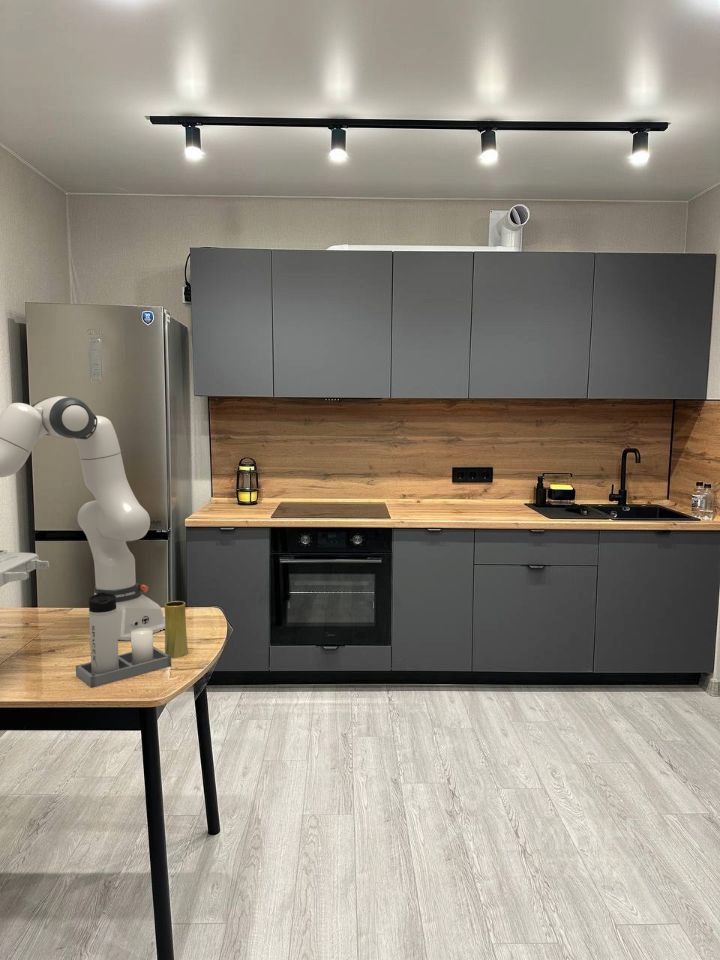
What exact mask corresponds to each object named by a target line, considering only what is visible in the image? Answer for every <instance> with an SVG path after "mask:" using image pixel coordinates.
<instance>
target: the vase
mask: <svg viewBox="0 0 720 960" xmlns="http://www.w3.org/2000/svg"><path fill="white" fill-rule="evenodd" d="M186 616H187V615H186V602H185V601H181V600H173V601H171V600H170V601H168V602H166V603H165V604H164V617H165V630H164V653H166V654H167V655H169V656H171V659H178V658H183V657H186V656H187V655H189V650H188V633H187V623H186V622H187V620H186V619H187V618H186Z"/></svg>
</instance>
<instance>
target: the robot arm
mask: <svg viewBox="0 0 720 960" xmlns="http://www.w3.org/2000/svg"><path fill="white" fill-rule="evenodd" d="M45 435H47V436H51V437H55V438H60V439H63V438H66V439H67V438H68V439H72V440H73V441H74V443H75V444H76V447H77V451H78V456H79V461H80V465H81V466H80V467H81V471H82V476H83V480H84V484H85V487H86V488H87V489H88V490H89V491H90V493H92V495H93V496H94V498H95V500H89V501H88V502H86V503H84V504H83V505H82V506H80V508H79V510H78V513H77V523H78V524H77V525H78V526H79V527H80V529H81V530H82V531H83V533H84V534H85V536H86V539H87V542H88V545H89V548H90V551H91V554H92V558H93V564H94V578H95V579H94V580H95V583H94V584H95V586H94V588H93V590H94V591H93V595H96V594H98V593H100V592H105V593H109V594H113V595H115V596H116V607H117V631H118V641H131V631H132V630H135V629H138V628H151V629H152V630H153V634H154V633H158V632H161V631H160V630H162V631H164V630H163V629H165V616H164V613H163V610H162V606H160V604H158V603H157V602H155V601H154V600H152V599H151V598H149V597H148V596H146V595H144V594H143V593H147V592H148V591H149V586H147V585H146V584H141V583H138V582H137V580H136V559H135V555H134V554H133V553H132V552H131V551H130V549H129V547H128V545H127V542H133V541H137V540H140V539H142V538H144V537H146V535H147V533H148V531H149V530H150V525H151V518H150V514H149V512H147V510H146V509H145V508H144V507H143V506H142V505H141V504H140V502H139V501H138V499H137V498H136V496H135V494H134V491H133V490H132V488H131V486H130V484H129V481H128V479H127V474H126V471H125V466H124V462H123V457H122V453H121V452H122V450H121V446H120V443H119V439H118V435H117V433H116V430H115V428H114V425H113V423H112V421H111V420H110V419H108V418H107V417H105V416H103V415H102V416H101V415H95V413H94V412H92V410H91V408H90V407H89V406H88V405H87V404H86V403H85V402H84V401H83V400H80V399H78V398H76V397H71V396H69V397H68V396H63V395H57V396H51V397H45V398H43V399H41V400H39V401H37V402H36V403H34V404H32V405H30V404H28V403H23V402H14V403H13V402H12V403H11V404H9V405H7V406H6V408H4V410H3V411H1V413H0V478H5V477H9V476H12V475H15V474H16V473H18V472H19V470H21V469H22V467H23V466H24V465H25V463H26V462H27V460H28V458H29V457H30V455H31V453H32V451H33V449H34V447H35V445H36V443H38V441H39V440H40V439H41V438H42V437H44V436H45ZM48 568H50V561H48V560H40V559H39V554H37V553H34V552H22V551H21V552H18V551H12V552H8V550H5V549H4V550H3V549H2V550H1V549H0V588H1V587H2V586H4V585H6V584H8V583H12V582H16V581H17V582H18V581H26V580H28V579H29V578H30V572H32V571H34V570H36V569H38V570H42V571H43V570H47V569H48Z"/></svg>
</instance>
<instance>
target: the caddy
mask: <svg viewBox="0 0 720 960" xmlns="http://www.w3.org/2000/svg"><path fill="white" fill-rule="evenodd" d="M153 656H154V660H152V661H148V662H144V663H140V664H137V665H132V651H130V652H126V653H121V654H118V657H119V669H118V670H114V671H110V672H106V673H103V674H99V675H95V676H93V675H92V670H91V661H90V662H86V663H82V664H77V665H75V674H76V675H75V676H76V677H77V678H79V680H81V681H82V682H84V683H85V684H86V685H87V686H89V687H90V688H91V689H92V688H97V687H100V686H101V687H102V686H104V685H107V684H108V685H109V684H110V683H114V682H117V681H118V682H119V681H123V680H126V679H129V678H130V679H131V678H133V677H137V676H141V675H143V674H146V673H147V674H148V673H151V672H155V671H158V670H162V669H166V668H170V667H172V658H171V656H169V655H167V654H166V653H165V651H162V650H160V649H158V648H157V647H156V646H154V645H153Z"/></svg>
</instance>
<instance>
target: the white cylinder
mask: <svg viewBox="0 0 720 960" xmlns="http://www.w3.org/2000/svg"><path fill="white" fill-rule="evenodd" d="M130 641H131V652H132V665H137V664H140V663H144V662H148V661H152V660H154V656H153V646H154V633H153V630H152V629H151V628H138V629H135V630H132V631H131V640H130Z"/></svg>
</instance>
